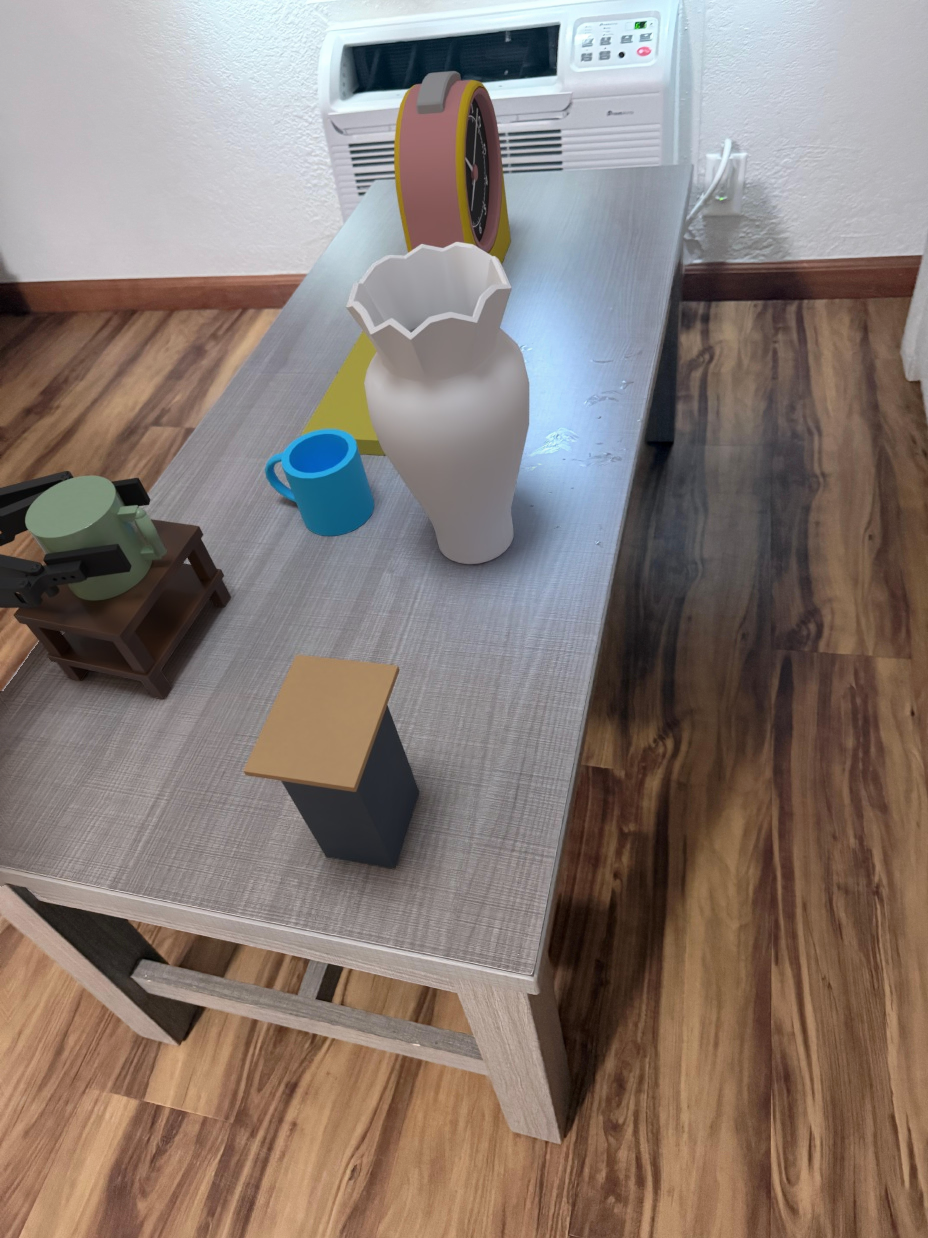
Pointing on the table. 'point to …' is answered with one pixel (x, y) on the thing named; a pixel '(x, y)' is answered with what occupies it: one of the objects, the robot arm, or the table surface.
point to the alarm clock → (450, 166)
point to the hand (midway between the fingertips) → (134, 523)
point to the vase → (447, 389)
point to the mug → (325, 481)
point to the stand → (340, 757)
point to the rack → (132, 615)
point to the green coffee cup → (95, 531)
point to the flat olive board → (349, 401)
